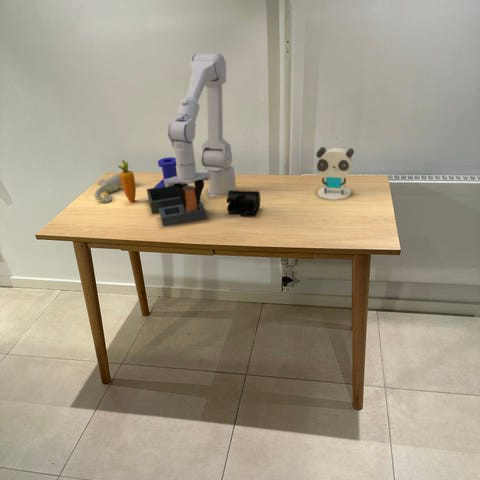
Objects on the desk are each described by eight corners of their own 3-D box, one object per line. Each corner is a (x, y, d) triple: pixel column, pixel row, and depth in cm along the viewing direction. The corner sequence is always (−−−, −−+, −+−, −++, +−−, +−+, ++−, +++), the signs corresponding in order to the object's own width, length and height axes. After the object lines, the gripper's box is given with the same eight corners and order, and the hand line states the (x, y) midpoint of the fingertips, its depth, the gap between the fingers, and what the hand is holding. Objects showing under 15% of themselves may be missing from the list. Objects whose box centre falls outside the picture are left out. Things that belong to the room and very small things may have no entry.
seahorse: (118, 201, 166) (139, 172, 179) (87, 190, 165) (110, 162, 179) (117, 212, 169) (138, 184, 183) (87, 202, 169) (109, 174, 182)
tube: (196, 207, 154) (194, 184, 150) (199, 211, 151) (196, 189, 146) (184, 209, 153) (181, 186, 149) (186, 213, 150) (183, 191, 146)
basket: (189, 195, 169) (187, 182, 166) (195, 208, 159) (193, 195, 157) (148, 201, 167) (146, 189, 164) (152, 215, 157) (150, 202, 154)
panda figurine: (312, 197, 161) (313, 153, 152) (320, 185, 169) (322, 142, 160) (347, 201, 157) (350, 155, 148) (353, 188, 165) (357, 144, 156)
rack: (160, 217, 155) (158, 208, 153) (202, 211, 157) (201, 201, 155) (163, 227, 149) (161, 217, 147) (206, 220, 151) (205, 210, 149)
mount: (170, 176, 186) (166, 153, 180) (187, 176, 184) (184, 154, 178) (154, 190, 174) (150, 167, 169) (172, 191, 172) (169, 168, 167)
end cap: (260, 207, 157) (260, 188, 152) (256, 217, 151) (255, 197, 147) (232, 206, 159) (230, 187, 155) (226, 215, 153) (224, 195, 149)
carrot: (136, 206, 164) (127, 163, 155) (123, 206, 165) (113, 163, 156) (141, 200, 168) (133, 158, 159) (128, 200, 169) (119, 158, 160)
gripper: (163, 170, 138) (170, 213, 147) (211, 163, 141) (215, 205, 149) (160, 162, 144) (167, 204, 152) (206, 156, 146) (211, 197, 155)
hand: (191, 204), depth 151 cm, fingers closed on tube, 4 cm apart
